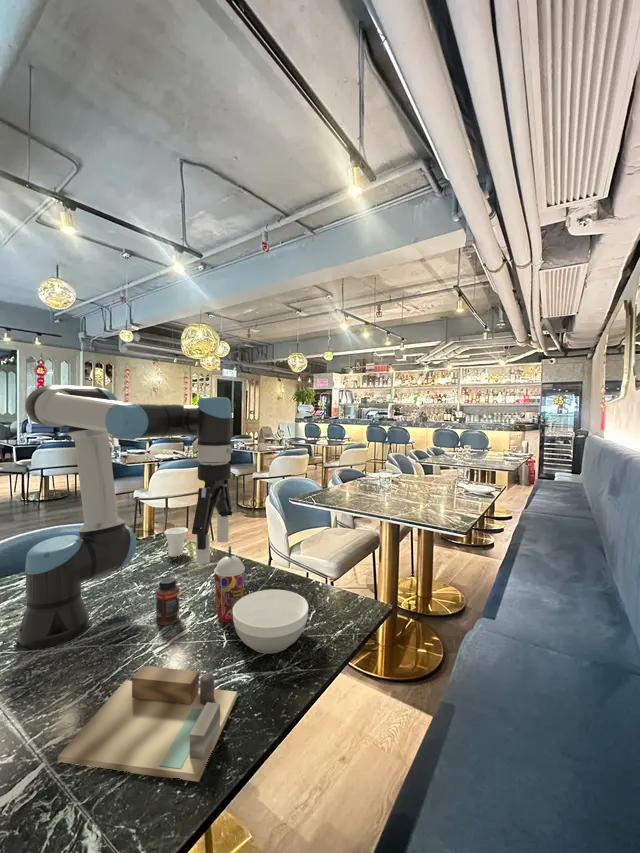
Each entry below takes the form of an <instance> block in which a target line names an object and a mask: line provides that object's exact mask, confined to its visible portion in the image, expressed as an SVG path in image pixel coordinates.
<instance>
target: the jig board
mask: <svg viewBox="0 0 640 853" xmlns="http://www.w3.org/2000/svg"><path fill="white" fill-rule="evenodd" d="M237 698H238V691H233V690H226V689H215V675H214V674H212V673H205V674H203V675H202V676H201V677H199V691H198V693H197V695H196V696H195V698H194V700H193V701H192V703H191V704H185V703H175V702H166V701H157V700H147V699H138V698H132V680H129V679H127V680H124V681H123V682H122V684H121V685H120V686H119V687H118V688H117V689H116V690H115V691H114V692H113V694H112V695H111V696H110V697H109V698H108V699H107V701H105V703H103V705H102V706H101V707H100V708H99V710H98V711H97V712H95V714H94V715H93V716H92V717H91V718H90V720H89V721H87V722H86V723H85V725H84V726H83V727H82V728H81V730H80V731H78V733H77V734H76V735H75V736H74V737H73V738H72V739H71V741H69V743H68V744H67V745H66V746H65V748H64V749H62V751H61V752H60V753H59V754H58V755H57V763H58V762H64V763H73V764H80V765H89V766H94V767H101V768H106V769H113V770H117V771H116V772H120V771H124V772H123V773H128V772H130V773H129V774H136V775H143V776H144V775H145V776H153V777H157V778H158V777H160V778H166V779H167V778H168V779H173V778H180V779H179V780H181V779H182V780H183V781H190V782H197V783H198V782H200V780H201V779H202V775H203V774H204V772H205V769H206V767H207V765H206V764H208V763H209V760H210V758H211V756H212V754H213V752H214V749H215V747H216V745H217V743H218V741H219V738H220V736H221V734H222V731H223V729H224V727H225V725H226V724H227V720H228V718H229V716H230V714H231V711H232V709H233V707H234V704H235V703H236V700H237ZM212 751H213V752H212ZM211 753H212V754H211ZM210 755H211V756H210ZM209 757H210V758H209ZM208 759H209V760H208ZM207 762H208V763H207ZM205 766H206V767H205ZM126 771H127V772H126Z"/></svg>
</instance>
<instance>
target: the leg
mask: <svg viewBox="0 0 640 853" xmlns="http://www.w3.org/2000/svg"><path fill="white" fill-rule="evenodd" d="M131 681H132V698H138V699H147V700H157V701H166V702H175V703H185V704H191V703H192V701H193V700H194V698H195V696H196V695H197V693H198V691H199V688H200V671H199V670H191V669H190V670H189V669H181V668H180V669H177V668H168V667H160V666H159V667H158V666H149V665H148V666H147V665H142V666H141V667H140V668H139V669H138V671H136V673H135V674H134V675H133V676H132V677H131Z"/></svg>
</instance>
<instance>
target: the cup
mask: <svg viewBox="0 0 640 853" xmlns="http://www.w3.org/2000/svg"><path fill="white" fill-rule="evenodd" d="M163 533H164V535H165V537H166V540H167V547H168V554H167V555H168V556H169V557H170V558H176V557H177V556H178V557H181V556H182V555H183V553H184V543H185V541H186V536H187V535H188V533H189V529H188V528H187V527H182V526H181V527H171V528H168V529H166V530H165V531H164V532H163ZM180 555H181V556H180Z"/></svg>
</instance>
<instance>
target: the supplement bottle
mask: <svg viewBox="0 0 640 853" xmlns="http://www.w3.org/2000/svg"><path fill="white" fill-rule="evenodd" d="M176 583H177V582H176V578H175V577H174V576H167V577H163V578H162V579H160V581H159V587H158V588H157V589H156V592H155V606H156V607H155V610H156V611H155V617H156V618H155V619H156V620H155V621H156V624H158V625H160V626H170V625H172V624H175V623H176V622H178V620H179V619H180V587H179V586H178V585H177V584H176Z"/></svg>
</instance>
